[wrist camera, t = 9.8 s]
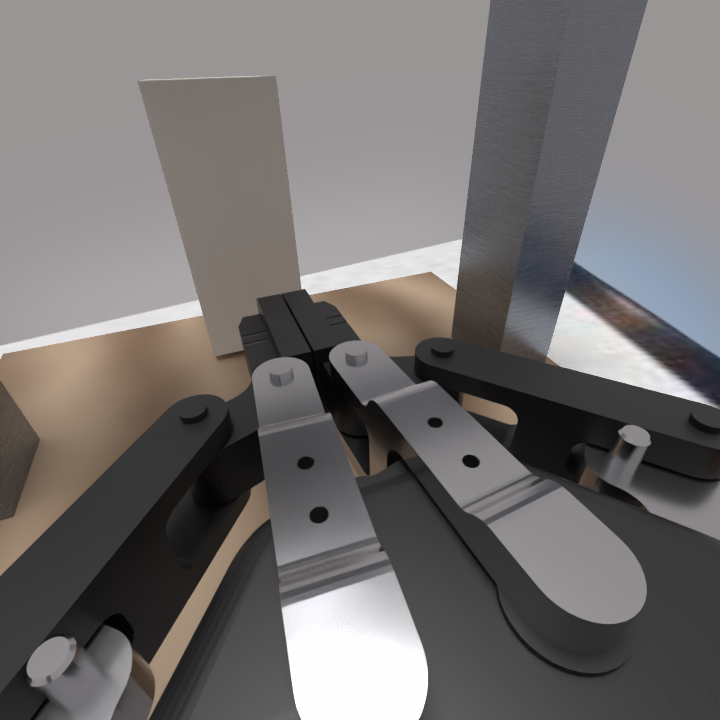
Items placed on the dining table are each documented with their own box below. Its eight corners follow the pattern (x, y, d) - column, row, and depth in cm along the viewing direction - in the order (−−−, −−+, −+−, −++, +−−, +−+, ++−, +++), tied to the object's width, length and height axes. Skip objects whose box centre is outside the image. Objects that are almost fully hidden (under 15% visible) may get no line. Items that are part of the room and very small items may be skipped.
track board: (-293, 1001, 8) (-377, 1008, 7) (17, 375, 24) (3, 354, 23) (707, 514, 15) (727, 489, 14) (429, 290, 31) (430, 271, 31)
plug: (214, 356, 22) (137, 81, 15) (205, 306, 26) (144, 79, 19) (306, 336, 23) (275, 75, 16) (282, 291, 28) (250, 75, 21)
